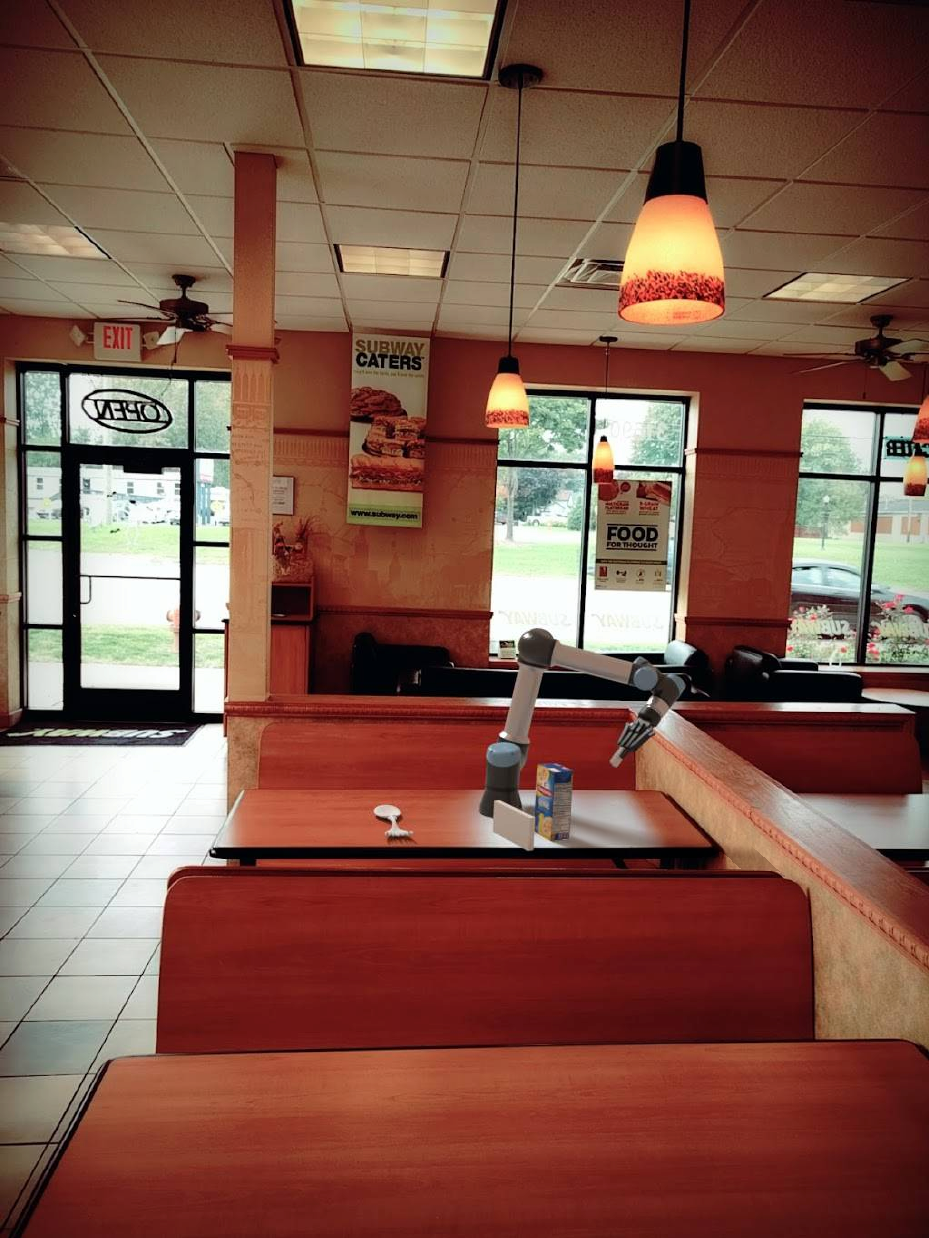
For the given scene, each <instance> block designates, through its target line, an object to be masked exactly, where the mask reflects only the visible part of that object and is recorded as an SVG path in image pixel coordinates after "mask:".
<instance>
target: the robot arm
mask: <svg viewBox="0 0 929 1238" xmlns="http://www.w3.org/2000/svg"><path fill="white" fill-rule="evenodd" d="M517 650H518V655H517V659H516V663H517V665H518V666H519V669H518V672H517V675H516V676H517V677H516V681H515V684H514V689H513V693H512V698H511V701H510V705H509V710H508V713H507V717H506V722H505V726H504V729H503V730H502V731H501V732H499V733H498V737H497V740H496V743H492V744H490V745H489V746H488V748H487V751H486V756H485V757H486V764H485V766H486V767H485V769H486V770H485V785H484V792H483V794H482V796H481V798H480V799H481V800H480V802H479V804H478V805H479V806H478V812H479V813H480V814H482V815H484V816H486V817H490V818H493V816H494V801H496V800H500V801H502V802H504V803H507V804H509V805H511V806H513V807H515V808H517V809H519V810H521V811H523V809H524V807H523V804H522V800H521V797H520V796H521V795H520V793H519V792H520V791H519V785H520V772H521V771H522V769H523V768H524V767H525V765H526V764H527V762H528V761H527V760H528V754H529V753H528V752H529V747H530V744H531V741H530V738H529V737H528V735H529V729H530V726H531V723H532V717H533V714H534V709H535V705H536V701H537V698H538V695H539V689H540V685H541V682H542V677H543V675H544V674H543V673H545V672H547V671H548V670H549V667H550V668H552V667H555V666H558V667H561V668H565V669H568V670H573V671H577V672H580V673H582V674H583V673H584V674H588V675H591V676H595V677H599V678H603V679H606V680H611V681H614V682H618V683H621V684H625V685H629V686H632V687H636V688H638V689H639V690H642V691H650V692H651V693H652V695H651V696H650V697H649V698H648V700H647V701H646V702H645V703H644V706H642V708H641V709H640V710H639V711H638V713H637V718H636V719H635V720H633V722H631V723H630V722H629V721H627V722H625V727H624V729H623V731H622V733H621V735H620V737H619V738H618V740H617V742H616V745H617V746H618V748H617V750H615V752H614V755H613V756H612V758H611V759H610V760H609V763H610V764H611V765H612V766H613V767H614V768H618V766H619V765H620V764H621V762H622V761H623V760H624V759H625V758H627V756H628V755H629V753H636V752H637V751H638V750H639V749H640V748H641V747H642V746H643V745H644V744H645V743H646V742H647V741H648V740H650V739H651V738H652V737H654V736H655V735H656V732H655V730H654V728H656V727H658V725H659V724H660V722H661V721H662V719H664V717H665V716H666V714H667V713H668V712H669V711H670V709H672V707H673V705H674V704H675V703H676V702H677V700H678V699H679V698H680V697H681V695H682V693H683V692H684V690H685V689H686V684H685V681H684V680H683V679H682V678H681V677H680V676H678V675H676V674H674V673H669V674H667V675H666V674H664V673H662V672H661V671H660V670H659V669H658V668H657V667H655V666H654V665H653V664H652V663H650V662H649V660H647V659H645V658H644V657H642V656H638V657H637V658H635V660H634V661H633V662H631V661H628V660H624V659H620V658H616V657H612V656H608V655H604V654H600V653H596V652H594V651H589V650H586V649H582V648H578V647H576V646H575V647H574V646H571V645H567V644H563V643H561V641H560V640H559V639H556V638H554V636H553V634H552V633H551V632H549V631H548V630H547V629H544V628H541V627H534V628H531V629H529V630H527V631H526V632H524V633H522V634H521V635H520V637H519V639H518V642H517Z"/></svg>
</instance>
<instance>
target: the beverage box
mask: <svg viewBox="0 0 929 1238" xmlns="http://www.w3.org/2000/svg"><path fill="white" fill-rule="evenodd" d="M536 770H537V771H536V785H535V801H534V802H535V803H534V817H535V832H534V833H537V834H538V835H540V836H542V837H543V838H545V839H546V840H548V841H550V842H553V841H554V842H555V840H557V841H564V840H563V839H567V840H570V830H571V814H572V801H573V800H572V797H573V782H574V770H573V769H570V768H568V767H565V766H563V765H561V764H559V763H557V762H555V763H554V762H553V763H552V762H551V763H549V762H548V763H538V764H537V769H536Z"/></svg>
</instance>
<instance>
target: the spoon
mask: <svg viewBox="0 0 929 1238" xmlns="http://www.w3.org/2000/svg"><path fill="white" fill-rule="evenodd" d="M373 814H375V816H378V817H379V818H382V819H388V820H389V821H391V828H390V829H389V830H386V831H385V832H384V835H385V836H389V837H397V838H398V837H405V836H409V835H410V836H414V831H411V830H409V831H407V830H404V829H401V828H400V827H399V826H398V824H397V821H396V820H398V817H400V816H401V814H402V812H401V809H399V808H398V807H396V806H393V805H390V804H383V805H382V804H381V805H378V806H377V807H375V808H374V809H373Z"/></svg>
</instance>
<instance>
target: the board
mask: <svg viewBox="0 0 929 1238" xmlns="http://www.w3.org/2000/svg"><path fill="white" fill-rule="evenodd" d="M492 818H493V819H492V833H493V832H494V833H495V834H497V835H499V836H500V837H502V838H505V839H506V840H507V841H510V842H511V843H513V844H514V845H516V846H518V847H520V848H522V849H524V850H526V851H527V852H528V851H529V852H530V851H534V849H535V848H534V846H535V833H536V832H535V816H533V815H531V814H529V813H527V812H525V811H523V810H522V811H521V810H519V809H517V808H515V807H513V806H511V805H509V804H507V803H504V802H502V801H500V800H496V801H494V816H493V817H492Z"/></svg>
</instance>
